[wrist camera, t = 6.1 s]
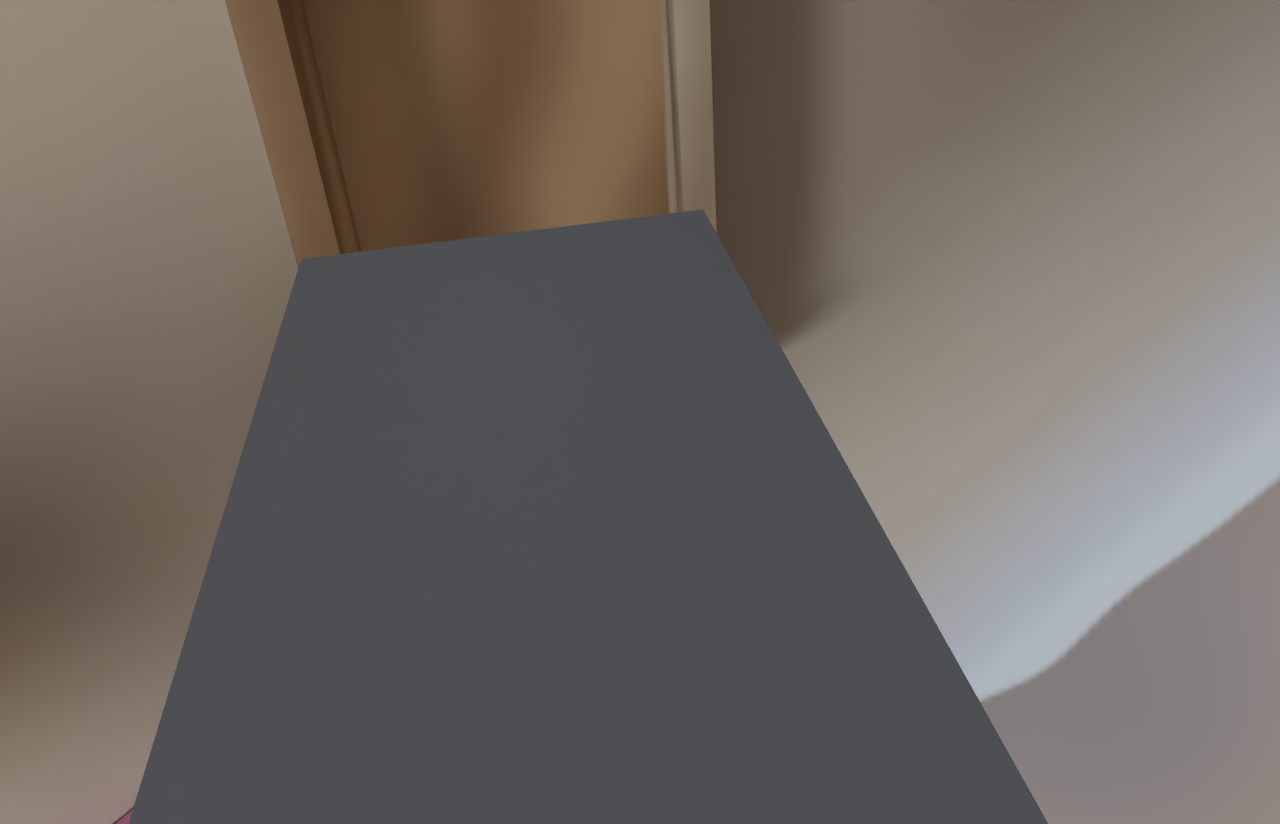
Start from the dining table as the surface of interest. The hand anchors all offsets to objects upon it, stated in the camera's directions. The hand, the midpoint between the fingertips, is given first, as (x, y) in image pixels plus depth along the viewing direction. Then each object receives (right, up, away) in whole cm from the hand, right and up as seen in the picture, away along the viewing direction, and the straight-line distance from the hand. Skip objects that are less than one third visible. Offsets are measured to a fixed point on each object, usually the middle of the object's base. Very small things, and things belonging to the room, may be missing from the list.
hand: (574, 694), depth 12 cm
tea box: (-1, +2, +3) cm, 4 cm away
